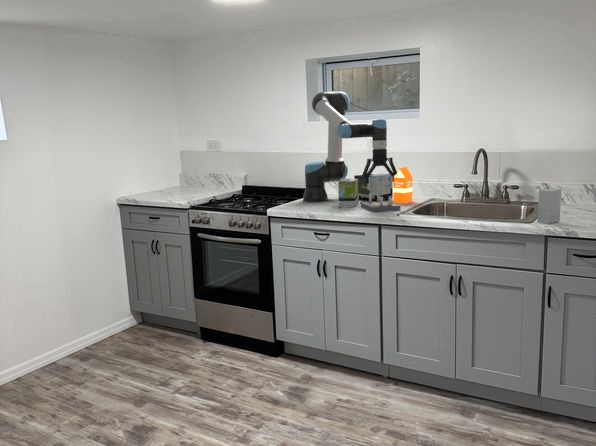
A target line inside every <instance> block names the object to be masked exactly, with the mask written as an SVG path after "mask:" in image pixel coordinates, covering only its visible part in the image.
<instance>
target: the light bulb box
mask: <svg viewBox="0 0 596 446" xmlns="http://www.w3.org/2000/svg"><path fill="white" fill-rule="evenodd" d="M390 176H391V175H390V174H389V173H377V174H375V175H370V176H369V177H370V178H371V190H370V195H376V196H380V195H385V194H389V193H390Z"/></svg>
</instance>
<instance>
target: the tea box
mask: <svg viewBox="0 0 596 446" xmlns="http://www.w3.org/2000/svg"><path fill="white" fill-rule="evenodd" d="M337 183H338V187H337V188H338V192H337V193H338V198H337V200H338V201H337V203H338V207H339V208H354V207H356V206H357V205H358V203H359V198H358V179H354V178H345V179H341V180H340V181H338V182H337Z"/></svg>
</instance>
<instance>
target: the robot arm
mask: <svg viewBox="0 0 596 446" xmlns="http://www.w3.org/2000/svg"><path fill="white" fill-rule="evenodd" d="M350 103H351V101H350V98H349V96H348V94H347V93H346V92H345V91H320V92H317V94H315V96H313V98H312V100H311V107H312V110H313V111H314V113H315V114H317V115H318V116H322V117H323V119H325V120H326V121H327V122H328V125H327V126H328V131H327V132H328V133H327V135H328V137H327V157H326V158H325V161H313V162H308V163H306V164H305V166H304V177H305V179H304V180H305V181H304V182H305V188H304V192H303V197H302V200H303V202H305V203H306V202H307V203H321V202H327V201H329V199H328V193H327V190H326V187H325V185H326V184H325V183H333V182H334V183H338V181H340V180H341V179H347V176H348V172H349V169H348V165H347V163H346V162H345V158H343V139H356V138H357V139H358V138H371V139H372V158H369V157H368V158H367V159H366V164H365V166H364V169H363V171H362V174H361V175H362V176H364V177H366V183H367V189H368V190H371V178H370V177H369V176H370V175H371V174H373V172H374V170H375V169H376V168H377V167H380V166H381V167H384V168H385V170H386V171H387V172H388V174H390V188H392V189H393V182H394V176H395V175H397V171H398V170H397V169H396V166H395V164H394V162H393V161H394V160H393V157H390V156H389V157H388V153H387V152H388V150H387V145H388V144H387V143H388V141H387V139H388V138H387V134H388V133H387V129H388V126H387V120H386V119H385V118H379V119H378V118H377V119H376V118H374V119H372V121H371V122H364V123H352V122H351V121H349V120H348V119H347V118H346V117H345V116H346V113H347V112H349V109H350V106H351V104H350ZM387 162H388V163H387ZM371 163H372V164H371Z"/></svg>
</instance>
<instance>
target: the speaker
mask: <svg viewBox="0 0 596 446" xmlns="http://www.w3.org/2000/svg"><path fill="white" fill-rule="evenodd" d="M371 175H375V174H374V173H371ZM353 179H358V200H359V199H362V198H363V199H368V200H369V193H370V190H368V189H367V183H366V177H364V176H362V174H357V175H354V177H353ZM389 196H392V198H394V193H393V188H390V193H389V194H385V195H380V197H383V200H385V201H389ZM372 201H373V202H377V196H376V195H372Z"/></svg>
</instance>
